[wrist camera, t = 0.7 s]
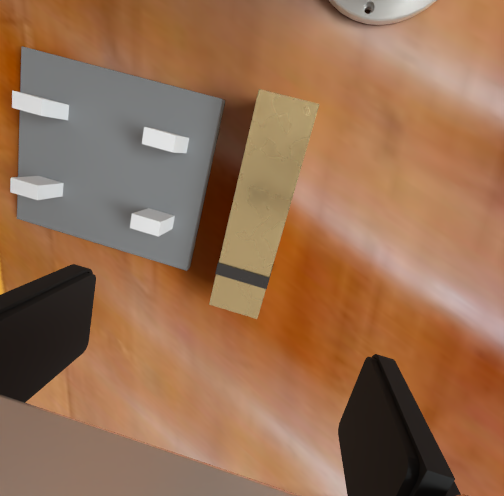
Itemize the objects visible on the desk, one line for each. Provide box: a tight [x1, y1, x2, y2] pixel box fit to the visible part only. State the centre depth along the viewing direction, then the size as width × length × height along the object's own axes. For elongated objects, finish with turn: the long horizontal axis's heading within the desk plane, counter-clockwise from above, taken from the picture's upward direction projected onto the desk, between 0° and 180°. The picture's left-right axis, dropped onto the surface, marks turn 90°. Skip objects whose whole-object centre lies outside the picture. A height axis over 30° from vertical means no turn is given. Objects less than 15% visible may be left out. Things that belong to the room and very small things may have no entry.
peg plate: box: [10, 47, 225, 271], centre depth 32 cm, size 18×21×4 cm
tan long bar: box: [209, 89, 319, 319], centre depth 30 cm, size 20×5×5 cm, turn 166°
